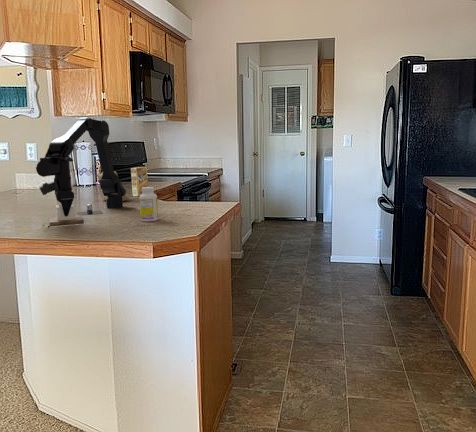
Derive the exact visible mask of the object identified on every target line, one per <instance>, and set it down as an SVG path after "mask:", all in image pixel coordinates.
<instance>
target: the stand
mask: <svg viewBox="0 0 476 432" xmlns="http://www.w3.org/2000/svg"><path fill="white" fill-rule="evenodd" d="M76 214H77V215H81V216H82V217H84V216H91V215H92V216H93V215H104V212H103V211H102V210H101V209H99V210H93V203H90V204H86V211H77V212H76Z"/></svg>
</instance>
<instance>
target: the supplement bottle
mask: <svg viewBox="0 0 476 432" xmlns="http://www.w3.org/2000/svg"><path fill="white" fill-rule="evenodd" d="M158 207H159V206H158V195H157V194H156V193H155V187H154V186H148V187H143V188H142V194H141V195H140V196H139V208H140V209H139V210H140V211H139V212H140V220H141V221H142V222H147V223H149V222H156V221H158V220H159V209H158Z"/></svg>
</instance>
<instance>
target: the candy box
mask: <svg viewBox="0 0 476 432" xmlns="http://www.w3.org/2000/svg"><path fill="white" fill-rule="evenodd" d="M130 176H131V188H132V189H131V191H132V196H133V197H140V195H141V194H142V188H143V187H149V183H148V182H149V181H148V179H149V177H148V167H147V166H141V167H140V166H139V167H138V166H137V167H131V168H130Z"/></svg>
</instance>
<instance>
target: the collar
mask: <svg viewBox="0 0 476 432" xmlns="http://www.w3.org/2000/svg"><path fill="white" fill-rule="evenodd" d="M75 209H76V208H75V205H74V203H72V205H71V208H70V211H69V214H68V216H65V215H64V212H63V208H62V205H61V204H56V205H55V212H56V217H57V221H60V220H72V219H75V216H76V212H75V211H76V210H75Z"/></svg>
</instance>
